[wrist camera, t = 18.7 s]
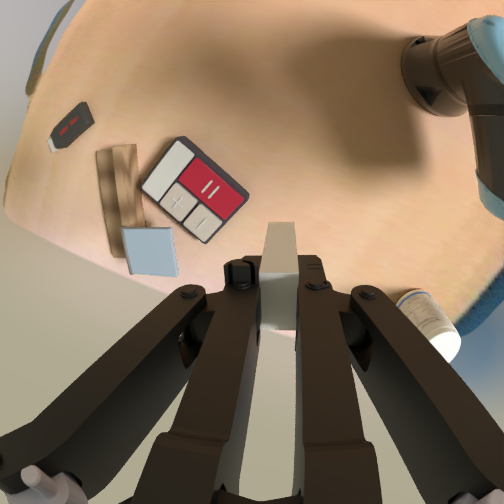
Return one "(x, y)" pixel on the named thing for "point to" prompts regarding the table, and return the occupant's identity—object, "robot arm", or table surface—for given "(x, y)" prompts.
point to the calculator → (194, 189)
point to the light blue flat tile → (150, 250)
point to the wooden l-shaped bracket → (120, 192)
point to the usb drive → (71, 127)
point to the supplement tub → (431, 322)
